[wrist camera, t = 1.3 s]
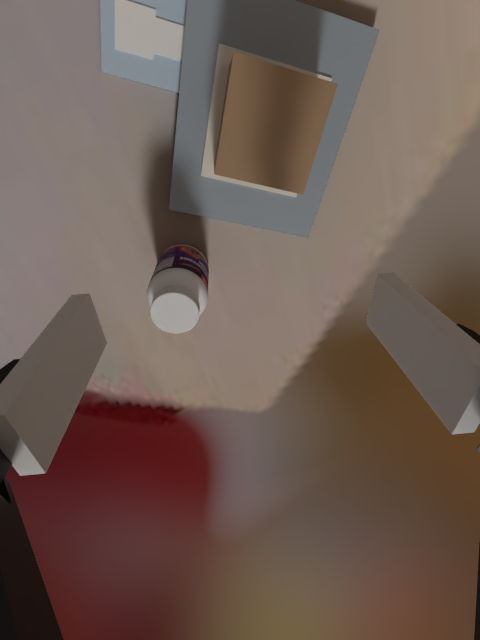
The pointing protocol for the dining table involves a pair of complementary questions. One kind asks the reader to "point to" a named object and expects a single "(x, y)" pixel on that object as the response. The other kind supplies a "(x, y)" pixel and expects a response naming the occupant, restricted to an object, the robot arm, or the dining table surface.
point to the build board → (209, 92)
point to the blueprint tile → (144, 40)
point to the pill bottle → (178, 288)
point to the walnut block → (271, 124)
